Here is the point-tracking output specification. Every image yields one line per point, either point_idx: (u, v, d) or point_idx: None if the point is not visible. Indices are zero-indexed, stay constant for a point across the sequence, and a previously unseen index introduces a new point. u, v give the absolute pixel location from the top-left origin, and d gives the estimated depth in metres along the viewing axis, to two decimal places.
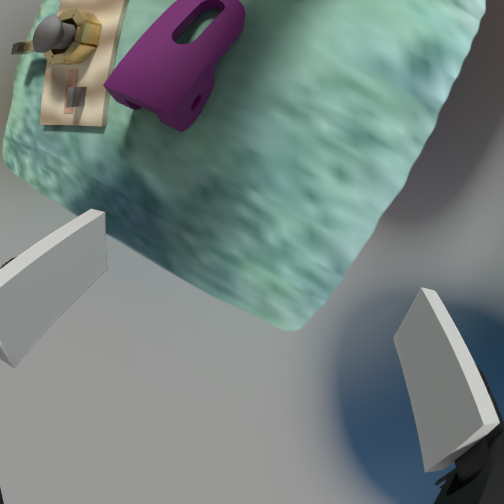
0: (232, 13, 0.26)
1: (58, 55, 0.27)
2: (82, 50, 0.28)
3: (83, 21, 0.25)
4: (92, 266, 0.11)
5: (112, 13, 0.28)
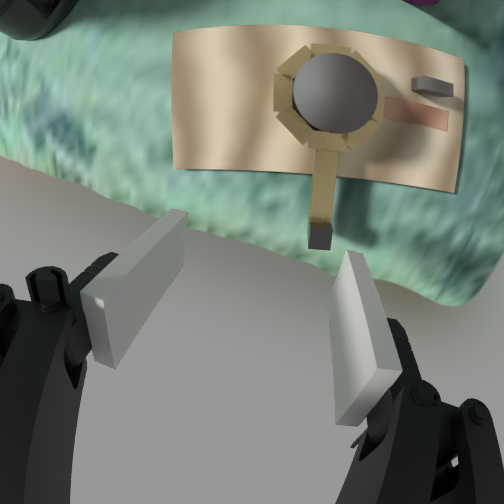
0: None
1: None
2: None
3: (307, 49, 0.18)
4: (175, 264, 0.12)
5: (285, 40, 0.21)
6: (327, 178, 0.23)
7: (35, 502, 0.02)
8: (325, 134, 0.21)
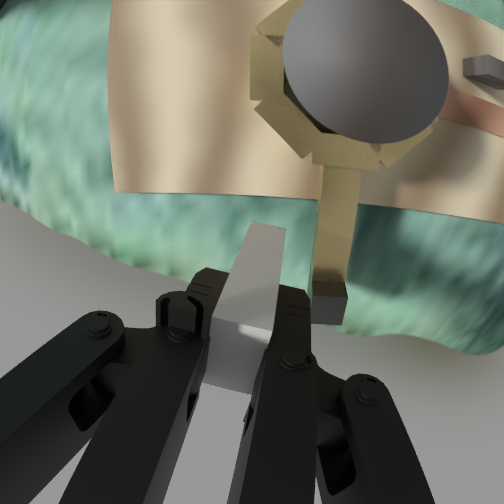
0: None
1: None
2: None
3: None
4: None
5: None
6: (342, 213, 0.14)
7: None
8: (342, 140, 0.12)
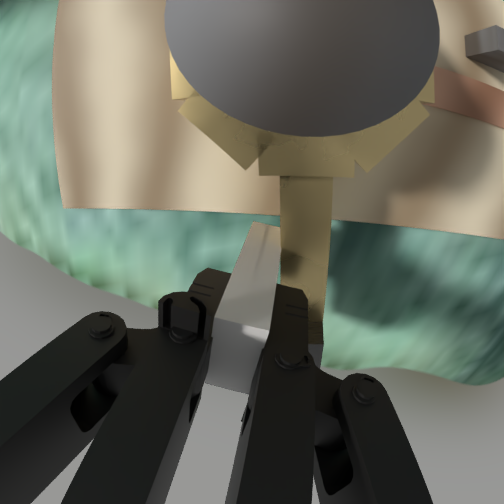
0: None
1: None
2: None
3: None
4: None
5: None
6: (311, 238, 0.11)
7: None
8: (298, 139, 0.09)
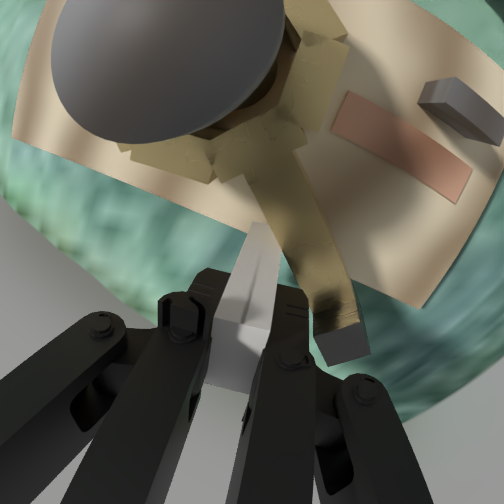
0: None
1: (289, 7, 0.07)
2: None
3: None
4: None
5: None
6: (302, 220, 0.10)
7: None
8: (239, 134, 0.09)
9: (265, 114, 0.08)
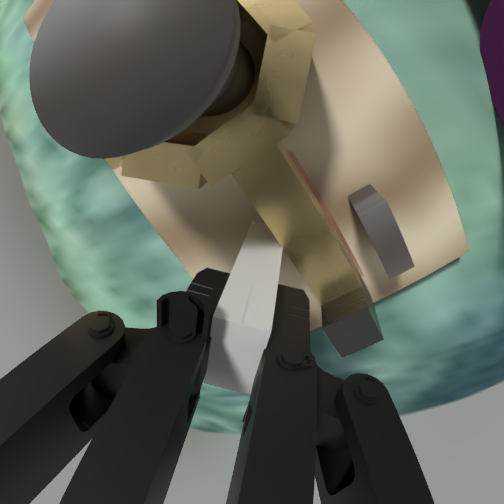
0: None
1: (251, 5, 0.07)
2: None
3: None
4: None
5: None
6: (296, 213, 0.10)
7: None
8: (221, 136, 0.09)
9: (243, 113, 0.08)
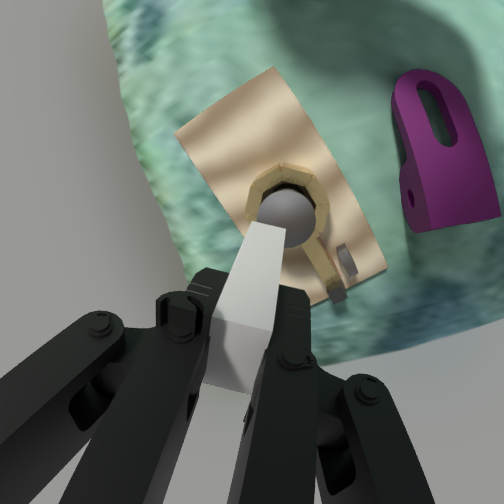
0: (448, 90, 0.24)
1: (312, 195, 0.29)
2: (291, 166, 0.30)
3: (253, 187, 0.30)
4: None
5: (312, 149, 0.31)
6: (319, 256, 0.33)
7: None
8: None
9: None
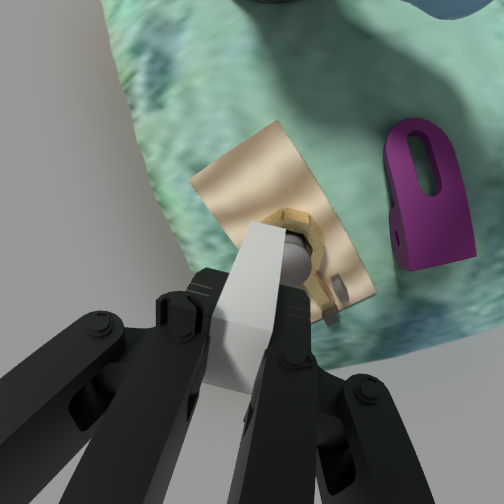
0: (437, 138, 0.29)
1: (310, 240, 0.35)
2: (292, 215, 0.36)
3: None
4: None
5: (311, 196, 0.37)
6: (316, 288, 0.39)
7: None
8: None
9: None
